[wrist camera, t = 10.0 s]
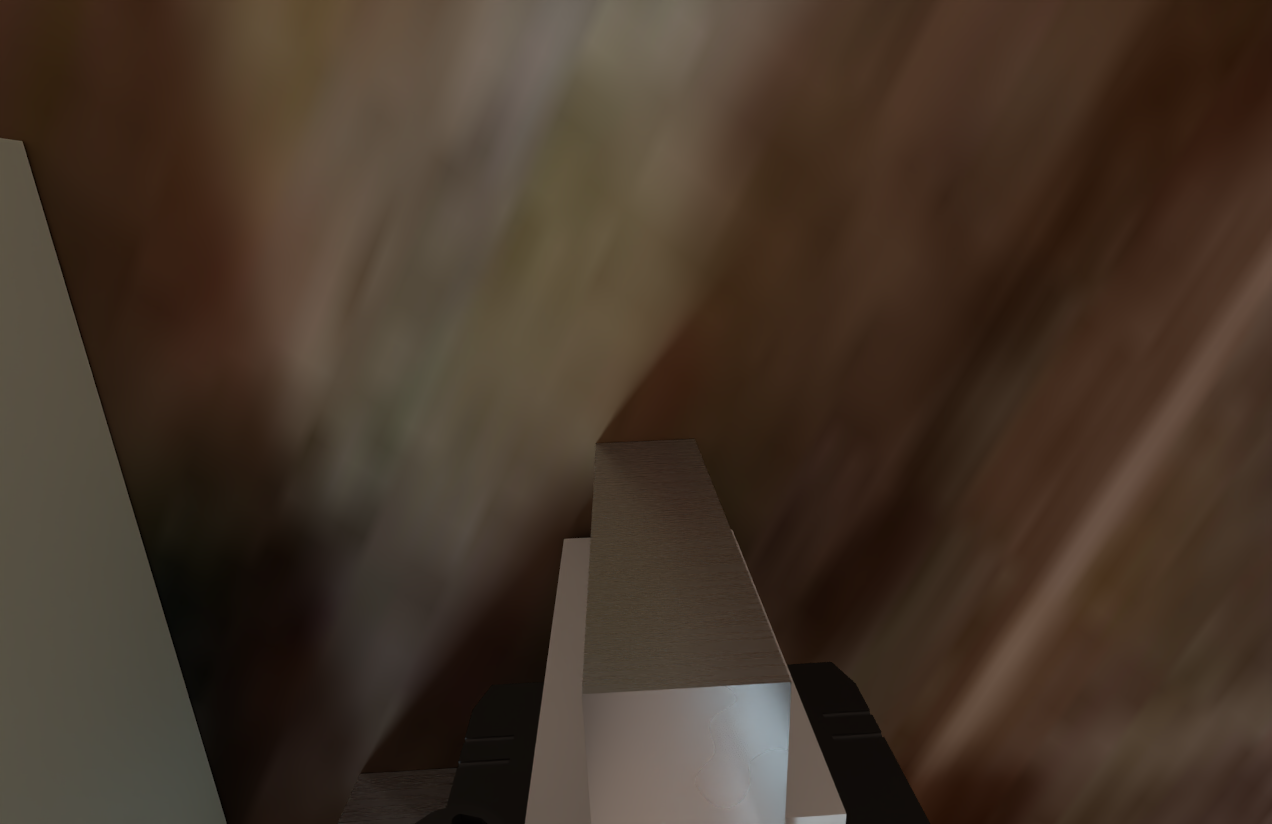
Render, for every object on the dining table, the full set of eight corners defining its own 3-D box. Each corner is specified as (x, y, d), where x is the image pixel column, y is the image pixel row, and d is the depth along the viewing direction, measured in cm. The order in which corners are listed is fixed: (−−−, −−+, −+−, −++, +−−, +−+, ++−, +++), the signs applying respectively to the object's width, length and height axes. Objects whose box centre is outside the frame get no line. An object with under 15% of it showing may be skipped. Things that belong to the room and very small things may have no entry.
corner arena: (975, 109, 11) (1256, 23, 6) (881, 951, 17) (986, 1231, 12) (-76, 144, 10) (-647, 79, 6) (217, 1001, 17) (60, 1313, 12)
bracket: (697, 816, 16) (764, 1264, 9) (373, 837, 15) (190, 1314, 9) (694, 439, 13) (791, 682, 6) (293, 457, 12) (-74, 732, 6)
